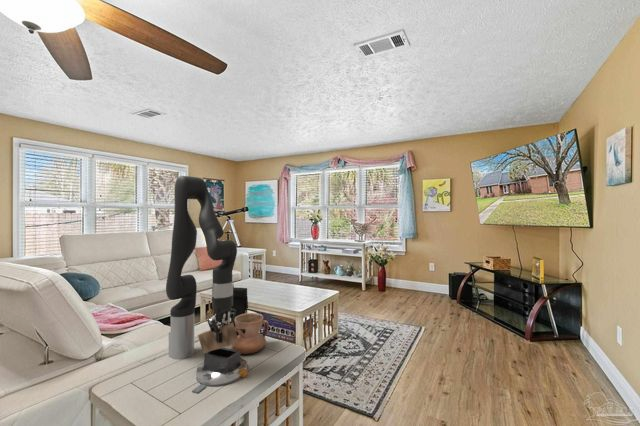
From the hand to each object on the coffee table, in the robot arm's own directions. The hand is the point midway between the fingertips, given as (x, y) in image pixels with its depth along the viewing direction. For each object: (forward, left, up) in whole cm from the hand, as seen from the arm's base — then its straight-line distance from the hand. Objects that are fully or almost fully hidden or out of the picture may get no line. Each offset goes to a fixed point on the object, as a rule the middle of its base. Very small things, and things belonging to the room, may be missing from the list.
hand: (222, 340), depth 111 cm
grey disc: (0, 0, -12) cm, 12 cm away
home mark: (0, -11, -12) cm, 17 cm away
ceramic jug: (-2, +20, -12) cm, 24 cm away
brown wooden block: (-9, 0, -2) cm, 9 cm away
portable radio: (-16, +32, -12) cm, 38 cm away
